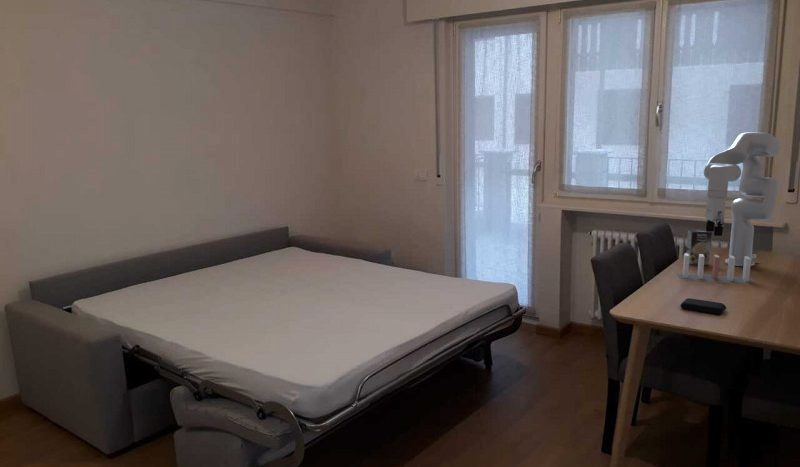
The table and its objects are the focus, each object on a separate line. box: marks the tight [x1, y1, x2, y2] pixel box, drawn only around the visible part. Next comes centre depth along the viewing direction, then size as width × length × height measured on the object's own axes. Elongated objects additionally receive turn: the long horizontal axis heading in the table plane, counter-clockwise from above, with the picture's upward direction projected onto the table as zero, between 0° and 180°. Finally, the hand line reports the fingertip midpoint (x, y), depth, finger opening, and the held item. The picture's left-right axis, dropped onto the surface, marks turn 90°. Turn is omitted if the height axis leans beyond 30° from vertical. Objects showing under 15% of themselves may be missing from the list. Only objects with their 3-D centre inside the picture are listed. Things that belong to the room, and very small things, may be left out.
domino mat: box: [676, 273, 756, 284], centre depth 272 cm, size 30×8×1 cm, turn 72°
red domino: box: [711, 254, 721, 280], centre depth 271 cm, size 2×5×10 cm, turn 162°
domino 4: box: [741, 256, 751, 282], centre depth 267 cm, size 2×5×10 cm, turn 162°
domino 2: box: [696, 254, 705, 279], centre depth 273 cm, size 2×5×10 cm, turn 162°
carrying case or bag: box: [679, 297, 727, 316], centre depth 232 cm, size 11×3×15 cm
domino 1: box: [682, 252, 690, 278], centre depth 275 cm, size 2×5×10 cm, turn 162°
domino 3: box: [726, 255, 736, 281], centre depth 269 cm, size 2×5×10 cm, turn 162°
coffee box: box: [685, 229, 713, 266], centre depth 299 cm, size 9×6×16 cm
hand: (713, 233), depth 268 cm, fingers open, 9 cm apart
